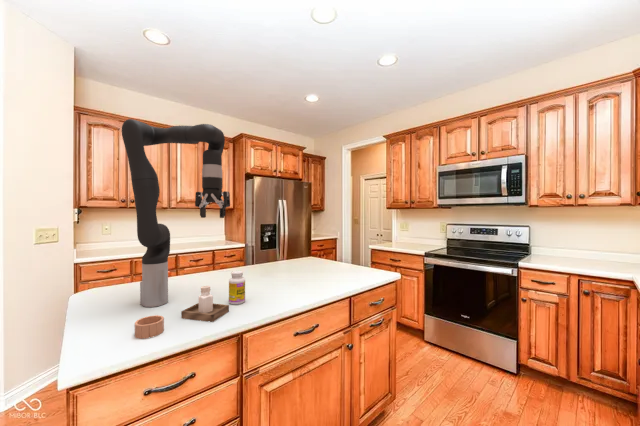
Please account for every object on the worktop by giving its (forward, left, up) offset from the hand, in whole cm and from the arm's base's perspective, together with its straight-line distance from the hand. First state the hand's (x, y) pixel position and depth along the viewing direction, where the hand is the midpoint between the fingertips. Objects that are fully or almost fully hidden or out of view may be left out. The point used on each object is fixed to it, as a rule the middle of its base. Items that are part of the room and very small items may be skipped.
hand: (212, 217), depth 107 cm
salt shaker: (+2, -7, -35) cm, 36 cm away
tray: (+2, -7, -36) cm, 37 cm away
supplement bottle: (+6, +8, -36) cm, 38 cm away
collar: (-6, -24, -36) cm, 44 cm away
